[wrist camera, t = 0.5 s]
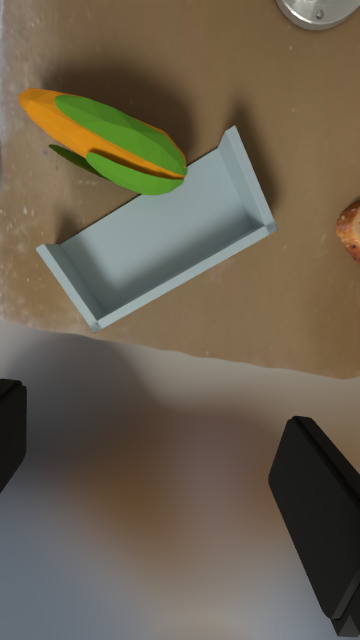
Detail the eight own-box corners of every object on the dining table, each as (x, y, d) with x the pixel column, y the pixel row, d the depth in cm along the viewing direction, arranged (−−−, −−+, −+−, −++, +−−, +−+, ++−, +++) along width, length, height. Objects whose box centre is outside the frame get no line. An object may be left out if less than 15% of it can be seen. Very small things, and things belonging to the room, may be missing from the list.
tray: (225, 144, 32) (235, 125, 27) (262, 232, 35) (277, 229, 30) (54, 248, 34) (35, 248, 30) (104, 322, 38) (94, 332, 33)
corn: (174, 199, 26) (-19, 112, 23) (172, 217, 33) (26, 152, 31) (201, 127, 25) (2, 28, 22) (193, 162, 32) (44, 91, 30)
